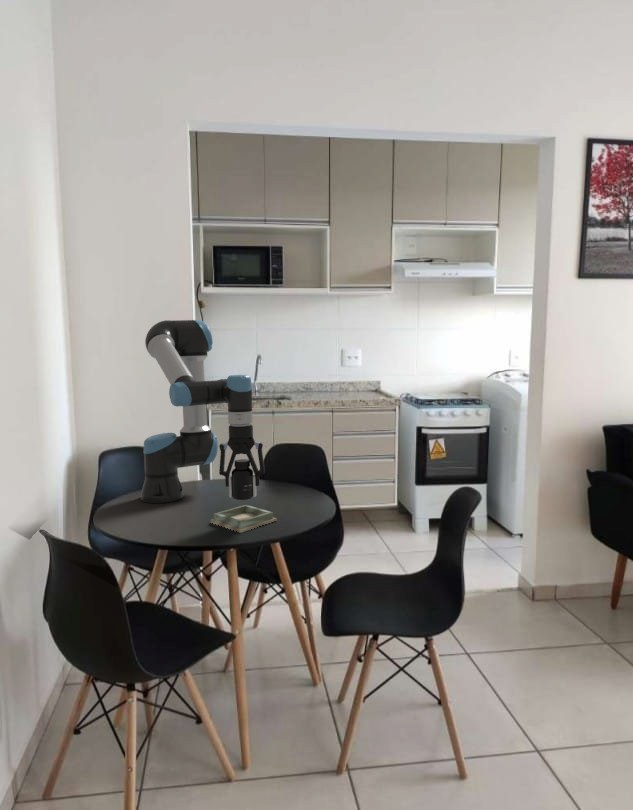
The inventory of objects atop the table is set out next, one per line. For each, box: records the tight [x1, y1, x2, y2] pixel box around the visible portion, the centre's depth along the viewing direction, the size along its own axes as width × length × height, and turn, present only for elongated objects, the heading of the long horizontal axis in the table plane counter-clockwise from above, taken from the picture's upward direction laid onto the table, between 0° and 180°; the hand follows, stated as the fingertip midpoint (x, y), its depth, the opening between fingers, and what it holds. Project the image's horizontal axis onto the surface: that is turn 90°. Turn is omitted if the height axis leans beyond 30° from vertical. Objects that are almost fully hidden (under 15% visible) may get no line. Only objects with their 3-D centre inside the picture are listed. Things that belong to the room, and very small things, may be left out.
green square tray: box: [209, 504, 278, 534], centre depth 197 cm, size 15×15×3 cm
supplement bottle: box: [231, 458, 254, 501], centre depth 196 cm, size 7×7×12 cm
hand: (243, 496), depth 196 cm, fingers closed on supplement bottle, 7 cm apart
